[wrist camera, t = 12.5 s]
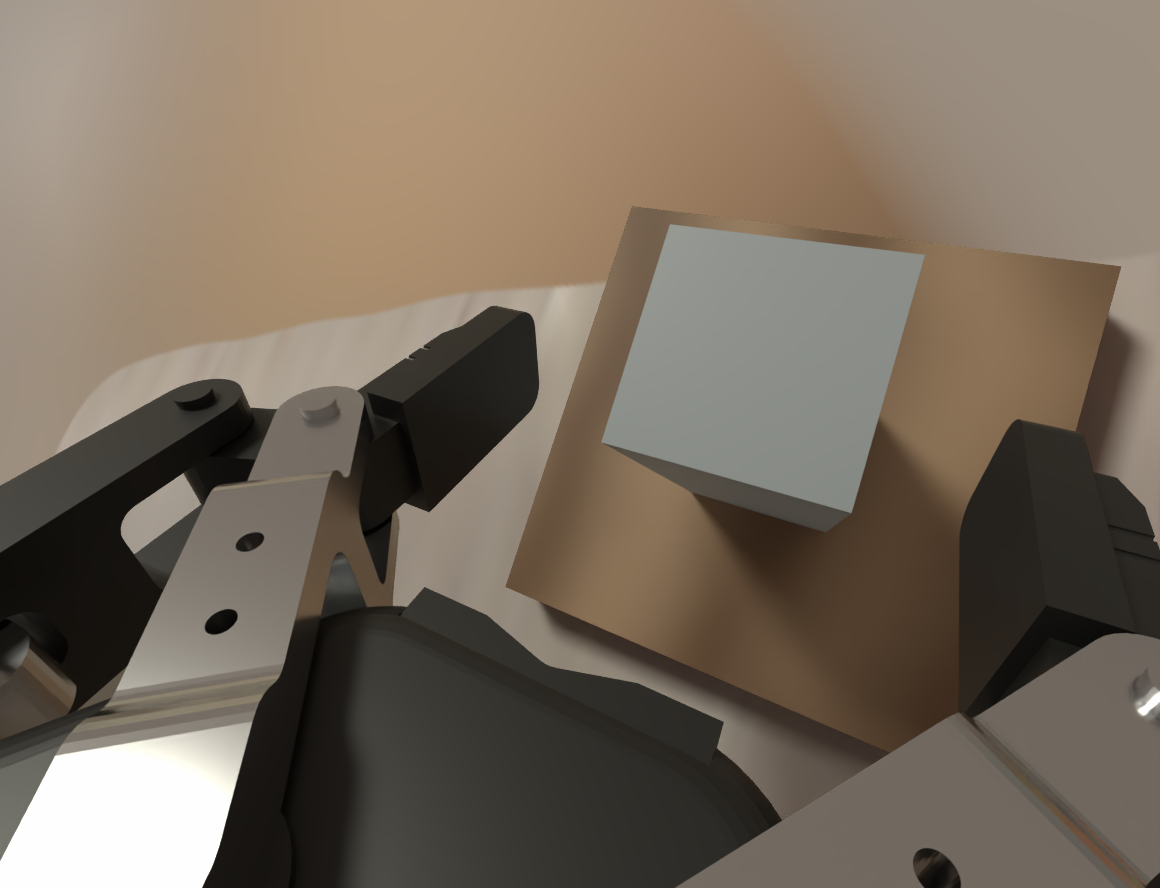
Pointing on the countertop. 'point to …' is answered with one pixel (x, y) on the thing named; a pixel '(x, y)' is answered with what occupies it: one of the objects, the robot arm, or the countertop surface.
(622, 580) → the walnut board
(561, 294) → the countertop surface
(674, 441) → the slate block
